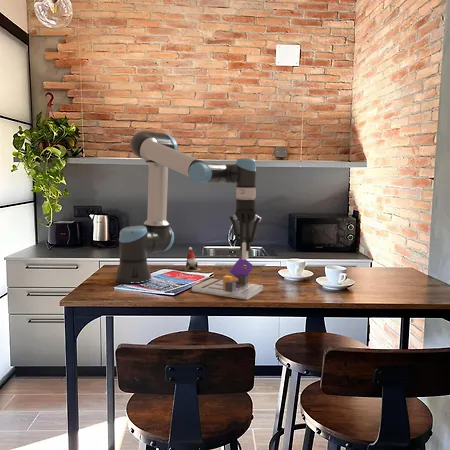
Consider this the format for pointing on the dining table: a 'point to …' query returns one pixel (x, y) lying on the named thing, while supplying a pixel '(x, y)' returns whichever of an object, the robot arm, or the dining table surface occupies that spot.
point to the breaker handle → (227, 279)
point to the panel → (225, 293)
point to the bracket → (241, 268)
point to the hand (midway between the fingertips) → (245, 259)
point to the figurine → (192, 261)
